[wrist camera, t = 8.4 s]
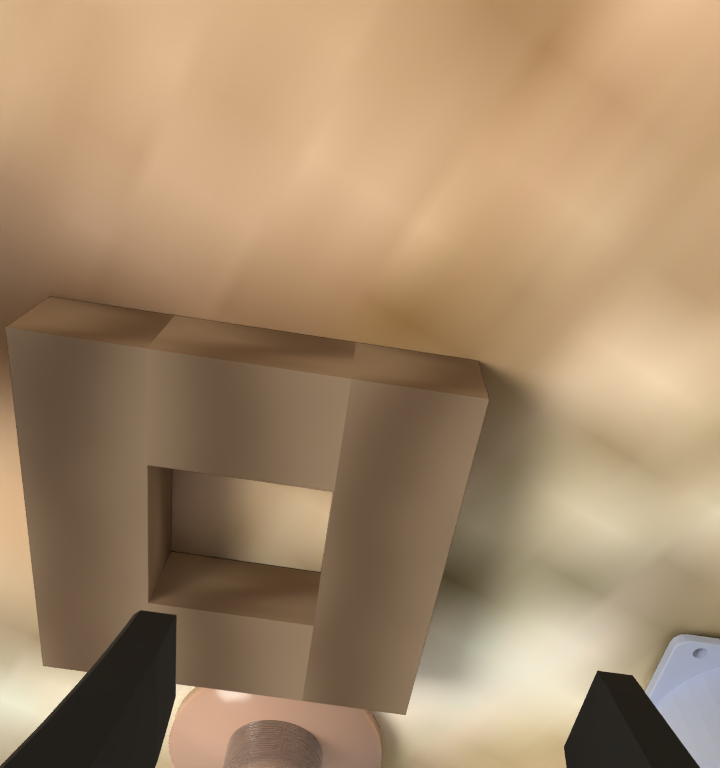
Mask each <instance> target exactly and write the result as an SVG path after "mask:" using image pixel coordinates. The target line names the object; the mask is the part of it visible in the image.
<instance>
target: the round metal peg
mask: <svg viewBox="0 0 720 768" xmlns="http://www.w3.org/2000/svg"><path fill="white" fill-rule="evenodd" d="M322 761H323V750H322V747H321V745H320V743H319V741H318V740H317V739H316V737H315V736H314V735H313V734H311V733H310V732H309V731H307V730H306V729H304V728H302V727H300V726H298V725H295V724H292V723H289V722H285V721H279V720H261V721H255V722H252V723H248V724H246V725H244V726H242V727H240V728H239V729H237V730H236V731H235V732H234V733H233V734H232V736H231V738H230V740H229V743H228V747H227V751H226V755H225V759H224V763H223V768H322Z"/></svg>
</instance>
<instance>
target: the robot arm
mask: <svg viewBox="0 0 720 768" xmlns="http://www.w3.org/2000/svg"><path fill="white" fill-rule="evenodd" d="M176 623H177V615H174V614H166V613H158V612H151V611H143V610H140V611H138V612H137V613H135V614H134V615H133V616H132V617H131V619H130V620H129V621H128V623H127V624H126V625H125V627H124V628H123V629H122V631H121V632H120V633H119V634H118V636H117V637H116V638H115V640H114V641H113V642H112V643H111V645H110V646H109V647H108V648H107V650H106V651H105V652H104V653H103V654H102V656H101V657H100V658H99V659H98V660H97V662H96V663H95V664H94V665H93V666H92V667H91V669H90V670H89V671H88V672H87V673H86V675H85V676H84V677H83V678H82V679H81V680H80V682H79V683H78V684H77V685H76V686H75V687H74V688H73V689H72V691H71V692H70V693H69V694H68V695H67V696H66V697H65V698H64V699H63V701H62V702H61V703H60V704H59V705H58V706H57V707H56V708H55V709H54V711H53V712H52V713H51V714H50V715H49V716H48V717H47V718H46V719H45V720H44V722H43V723H42V724H41V725H40V726H39V727H38V728H37V729H36V730H35V731H34V732H33V733H32V734H31V735H30V736H29V737H28V738H27V739H26V740H25V741H24V742H23V743H22V744H21V745H20V746H19V747H18V748H17V749H16V750H15V751H14V752H13V754H12V755H11V756H10V757H9V758H8V759H7V760H6V761H5V762H4V763H3V764H2V765H1V766H0V768H155V766H156V763H157V761H158V757H159V754H160V750H161V747H162V743H163V740H164V736H165V733H166V729H167V726H168V722H169V718H170V715H171V711H172V708H173V704H174V700H175V697H176ZM564 751H565V758H566V766H567V768H720V639H718V638H711V637H704V636H696V635H689V634H681V635H678V636H676V637H674V638H673V639H672V640H671V641H670V643H669V645H668V647H667V649H666V651H665V653H664V655H663V657H662V659H661V661H660V663H659V665H658V667H657V669H656V671H655V673H654V675H653V677H652V679H651V681H650V683H649V685H648V687H647V689H646V691H645V692H644V690H643V689H642V687H641V686H640V685H639V683H638V682H637V681H636V679H635V678H634V677H633V675H625V674H618V673H610V672H602V671H597V673H596V675H595V678H594V680H593V682H592V684H591V687H590V689H589V691H588V694H587V696H586V698H585V700H584V703H583V705H582V707H581V710H580V712H579V714H578V716H577V719H576V721H575V723H574V725H573V728H572V730H571V732H570V735H569V737H568V739H567V741H566V744H565V746H564Z"/></svg>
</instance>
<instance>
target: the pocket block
mask: <svg viewBox="0 0 720 768" xmlns="http://www.w3.org/2000/svg"><path fill="white" fill-rule="evenodd" d="M5 329H6V338H7V347H8V356H9V365H10V374H11V383H12V392H13V401H14V410H15V419H16V428H17V437H18V446H19V455H20V464H21V473H22V482H23V491H24V500H25V508H26V517H27V526H28V535H29V544H30V553H31V562H32V571H33V580H34V589H35V598H36V607H37V616H38V625H39V634H40V643H41V652H42V661H43V666H48V667H55V668H63V669H70V670H77V671H85V672H88V671H89V670H90V669H91V667H92V666H93V665H94V664H95V663H96V662H97V660H98V659H99V658H100V657H101V656H102V654H103V653H104V652H105V651H106V650H107V648H108V647H109V646H110V645H111V643H112V642H113V641H114V640H115V638H116V637H117V636H118V634H119V633H120V632H121V631H122V629H123V628H124V627H125V625H126V624H127V623H128V621H129V620H130V619H131V617H132V616H133V615H134V614H135V613H137V612H138V611H140V610H143V611H151V612H158V613H166V614H174V615H177V623H176V684H181V685H188V686H195V687H203V688H210V689H218V690H225V691H232V692H240V693H247V694H254V695H262V696H269V697H277V698H284V699H291V700H299V701H306V702H313V703H321V704H328V705H336V706H343V707H350V708H358V709H365V710H373V711H380V712H387V713H395V714H402V715H406V712H407V708H408V704H409V700H410V696H411V693H412V689H413V685H414V681H415V678H416V674H417V670H418V666H419V662H420V659H421V655H422V651H423V647H424V644H425V640H426V636H427V632H428V628H429V625H430V621H431V617H432V613H433V610H434V606H435V602H436V598H437V594H438V591H439V587H440V583H441V579H442V576H443V572H444V568H445V564H446V560H447V557H448V553H449V549H450V545H451V542H452V538H453V534H454V530H455V527H456V523H457V519H458V515H459V511H460V508H461V504H462V500H463V496H464V493H465V489H466V485H467V481H468V477H469V474H470V470H471V466H472V462H473V459H474V455H475V451H476V447H477V443H478V440H479V436H480V432H481V428H482V425H483V421H484V417H485V413H486V409H487V406H488V402H489V397H488V393H487V390H486V386H485V383H484V379H483V376H482V372H481V369H480V365H479V362H478V361H477V360H470V359H463V358H457V357H450V356H443V355H437V354H430V353H423V352H417V351H410V350H403V349H396V348H390V347H383V346H376V345H370V344H363V343H356V342H350V341H343V340H336V339H330V338H323V337H316V336H310V335H303V334H296V333H289V332H283V331H276V330H269V329H263V328H256V327H249V326H243V325H236V324H229V323H223V322H216V321H209V320H203V319H196V318H189V317H183V316H176V315H169V314H162V313H156V312H149V311H142V310H136V309H129V308H122V307H116V306H109V305H102V304H96V303H89V302H82V301H76V300H69V299H62V298H55V297H48V298H47V299H46V300H44V301H43V302H41V303H40V304H38V305H37V306H36V307H34V308H33V309H31V310H30V311H28V312H27V313H26V314H24V315H23V316H21V317H20V318H18V319H17V320H16V321H14V322H13V323H11V324H10V325H8V326H7V327H6V328H5ZM172 469H178V470H185V471H192V472H199V473H206V474H212V475H219V476H226V477H233V478H240V479H247V480H254V481H261V482H268V483H275V484H282V485H289V486H296V487H303V488H310V489H317V490H324V491H331V492H333V497H332V503H331V510H330V516H329V523H328V529H327V536H326V543H325V549H324V556H323V562H322V569H321V573H320V572H313V571H305V570H298V569H291V568H284V567H277V566H270V565H263V564H256V563H248V562H241V561H234V560H227V559H220V558H213V557H206V556H199V555H192V554H184V553H177V552H171V531H172Z"/></svg>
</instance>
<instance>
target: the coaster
mask: <svg viewBox="0 0 720 768" xmlns="http://www.w3.org/2000/svg"><path fill="white" fill-rule="evenodd" d="M261 720H279V721H285V722H289V723H292V724H295V725H298V726H300V727H302V728H304V729H306V730H307V731H309V732H310V733H311V734H313V735H314V736H315V737H316V739H317V740H318V741H319V743H320V745H321V747H322V750H323V761H322V768H381V763H382V739H381V733H380V729H379V726H378V724H377V722H376V719H375V717H374V716H373V715H372V713H371V712H370V710H365V709H358V708H350V707H343V706H336V705H328V704H321V703H313V702H306V701H299V700H291V699H284V698H277V697H269V696H262V695H254V694H247V693H240V692H232V691H225V690H218V689H210V688H203V687H196V688H195V689H193V690H192V691H191V692H190V693H189V694H188V695H187V696H186V697H185V699H184V700H183V701H182V703H181V705H180V706H179V708H178V711H177V714H176V717H175V720H174V723H173V726H172V729H171V732H170V736H169V752H170V756H171V759H172V762H173V764H174V766H175V768H223V763H224V759H225V755H226V751H227V747H228V743H229V740H230V738H231V736H232V734H233V733H234V732H235V731H236V730H237V729H239V728H240V727H242V726H244V725H246V724H248V723H252V722H255V721H261Z"/></svg>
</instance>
